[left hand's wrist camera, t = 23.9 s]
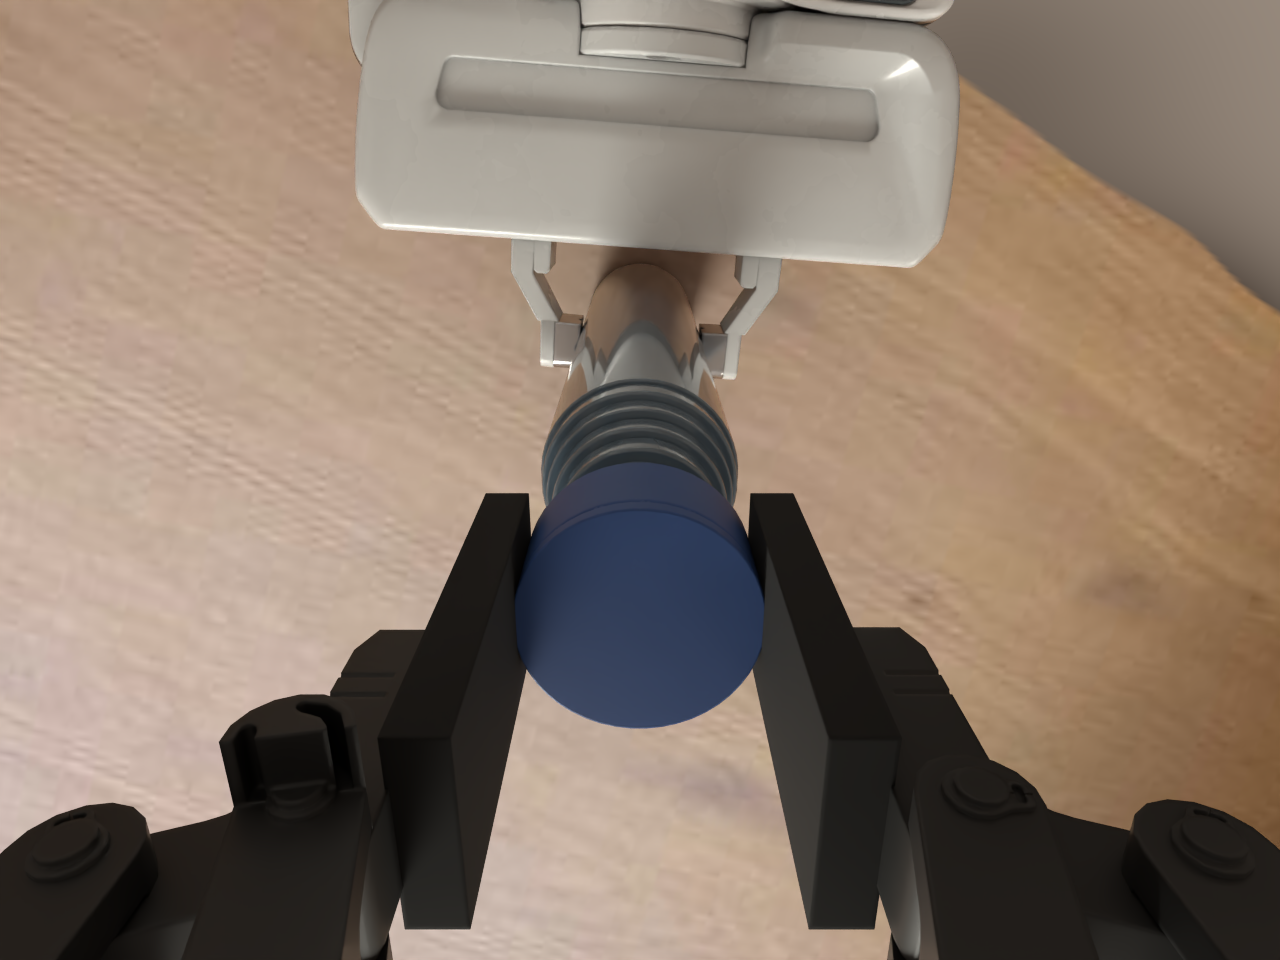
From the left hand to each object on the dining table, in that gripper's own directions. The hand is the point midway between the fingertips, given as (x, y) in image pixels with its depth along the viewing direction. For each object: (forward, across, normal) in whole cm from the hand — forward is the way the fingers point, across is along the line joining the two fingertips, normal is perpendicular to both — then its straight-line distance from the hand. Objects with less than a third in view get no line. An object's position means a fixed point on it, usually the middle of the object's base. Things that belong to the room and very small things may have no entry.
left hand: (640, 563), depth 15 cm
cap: (-2, 0, 0) cm, 2 cm away
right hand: (+18, 0, +1) cm, 18 cm away
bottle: (+24, 0, 0) cm, 24 cm away
